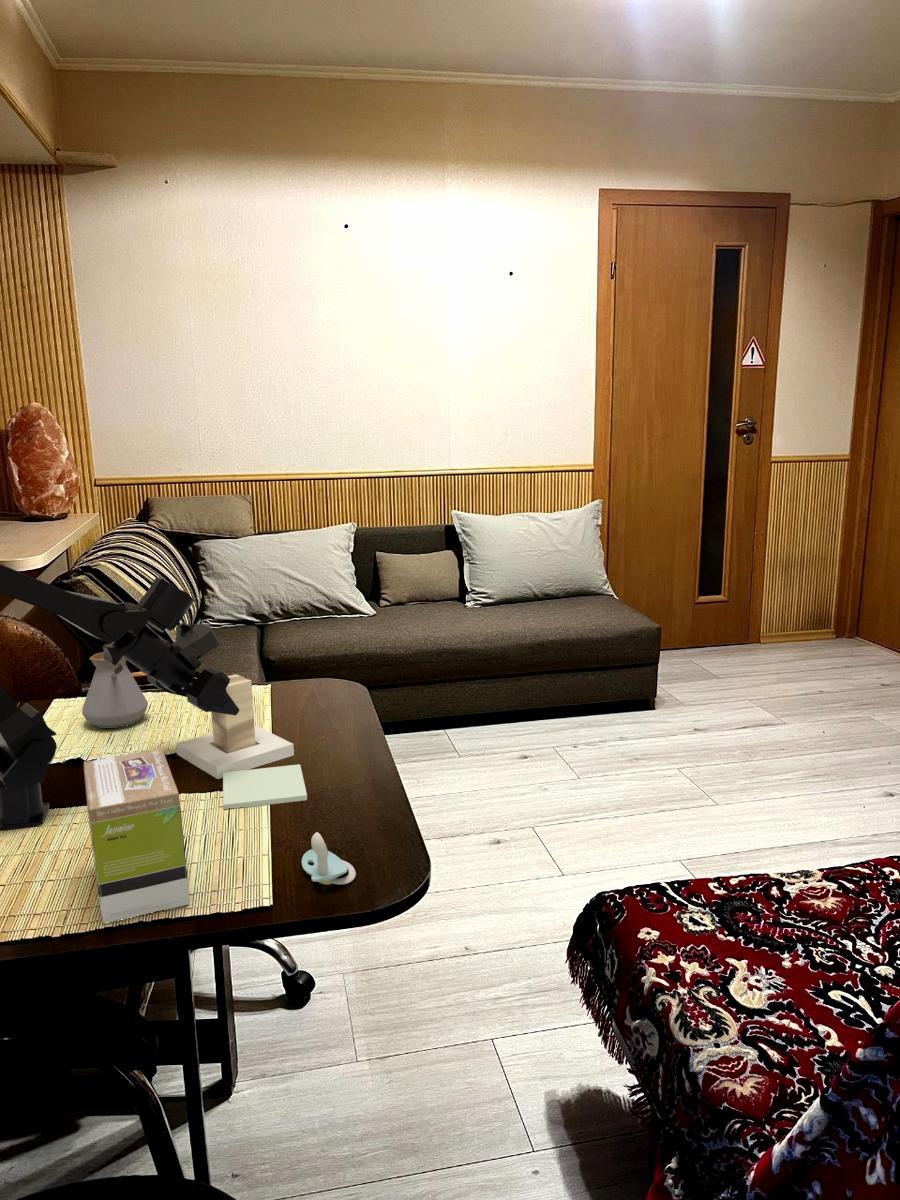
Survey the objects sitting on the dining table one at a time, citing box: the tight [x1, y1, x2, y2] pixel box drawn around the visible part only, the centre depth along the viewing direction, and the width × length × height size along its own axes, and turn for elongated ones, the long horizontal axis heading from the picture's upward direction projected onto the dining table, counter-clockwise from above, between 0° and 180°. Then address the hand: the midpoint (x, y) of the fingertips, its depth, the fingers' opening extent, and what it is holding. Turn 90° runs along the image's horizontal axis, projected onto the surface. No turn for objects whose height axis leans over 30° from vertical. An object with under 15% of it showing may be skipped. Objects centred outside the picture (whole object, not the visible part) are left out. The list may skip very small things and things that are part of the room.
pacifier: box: [301, 831, 357, 886], centre depth 113 cm, size 7×6×6 cm
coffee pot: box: [81, 651, 149, 729], centre depth 164 cm, size 21×12×15 cm, turn 27°
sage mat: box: [222, 763, 308, 810], centre depth 139 cm, size 12×12×1 cm
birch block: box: [210, 674, 256, 754], centre depth 151 cm, size 5×5×13 cm
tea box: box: [83, 748, 191, 924], centre depth 110 cm, size 15×10×15 cm, turn 24°
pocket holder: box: [175, 724, 295, 780], centre depth 153 cm, size 14×14×2 cm
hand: (223, 705), depth 150 cm, fingers open, 9 cm apart
